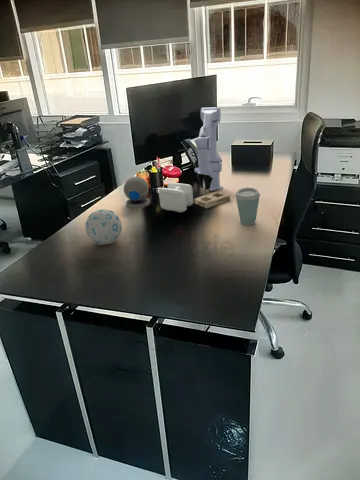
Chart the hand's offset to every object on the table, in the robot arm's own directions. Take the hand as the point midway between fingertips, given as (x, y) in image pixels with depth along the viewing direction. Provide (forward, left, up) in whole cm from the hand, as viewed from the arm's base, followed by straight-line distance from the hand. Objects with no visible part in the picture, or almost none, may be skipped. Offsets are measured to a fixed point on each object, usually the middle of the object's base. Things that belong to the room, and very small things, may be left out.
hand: (205, 188), depth 183 cm
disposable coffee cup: (+31, -1, -9) cm, 32 cm away
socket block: (0, +4, -8) cm, 9 cm away
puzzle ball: (+4, -58, -9) cm, 59 cm away
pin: (0, 0, -3) cm, 3 cm away
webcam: (-26, -26, -9) cm, 38 cm away
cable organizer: (-6, -14, -9) cm, 18 cm away
